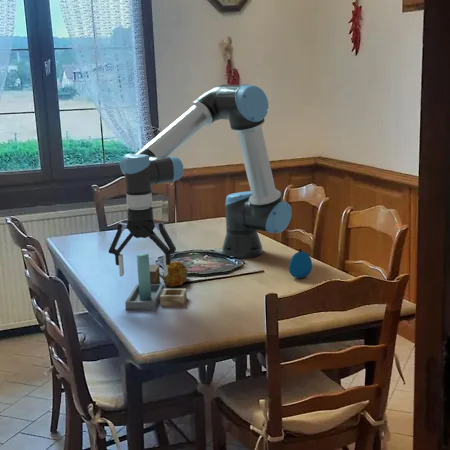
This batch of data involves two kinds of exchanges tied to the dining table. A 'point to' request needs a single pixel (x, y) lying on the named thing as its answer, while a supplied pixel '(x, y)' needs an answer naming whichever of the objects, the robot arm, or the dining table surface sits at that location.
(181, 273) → the rock
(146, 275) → the dowel
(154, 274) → the block
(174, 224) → the dining table surface
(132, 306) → the tray
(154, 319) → the dining table surface
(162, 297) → the socket block
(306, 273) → the ornament
